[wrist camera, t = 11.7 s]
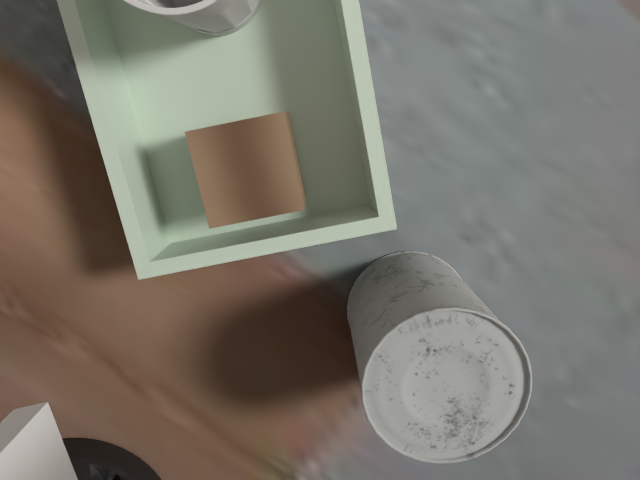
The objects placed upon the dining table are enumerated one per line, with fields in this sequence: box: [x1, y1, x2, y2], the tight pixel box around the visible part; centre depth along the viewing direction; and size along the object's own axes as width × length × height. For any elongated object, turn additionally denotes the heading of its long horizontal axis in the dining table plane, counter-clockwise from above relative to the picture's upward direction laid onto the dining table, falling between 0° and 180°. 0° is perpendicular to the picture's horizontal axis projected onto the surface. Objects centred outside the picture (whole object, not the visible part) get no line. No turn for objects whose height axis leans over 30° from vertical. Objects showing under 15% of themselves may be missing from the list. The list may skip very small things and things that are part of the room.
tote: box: [57, 0, 397, 280], centre depth 34 cm, size 17×24×6 cm
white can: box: [347, 251, 532, 464], centre depth 35 cm, size 10×10×12 cm
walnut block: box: [185, 111, 306, 229], centre depth 34 cm, size 6×6×6 cm
